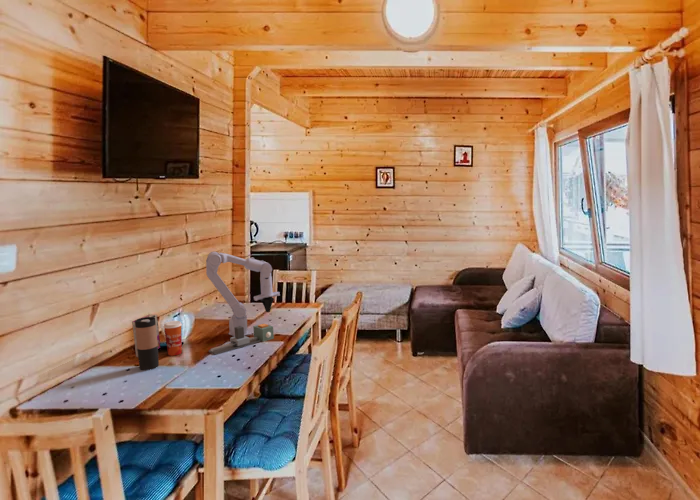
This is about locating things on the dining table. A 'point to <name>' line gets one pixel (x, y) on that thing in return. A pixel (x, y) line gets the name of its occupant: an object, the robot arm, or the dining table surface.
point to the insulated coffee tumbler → (156, 331)
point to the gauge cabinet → (264, 333)
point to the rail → (232, 346)
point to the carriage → (239, 336)
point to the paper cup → (173, 337)
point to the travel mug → (147, 343)
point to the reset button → (263, 325)
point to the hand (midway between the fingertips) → (267, 311)
